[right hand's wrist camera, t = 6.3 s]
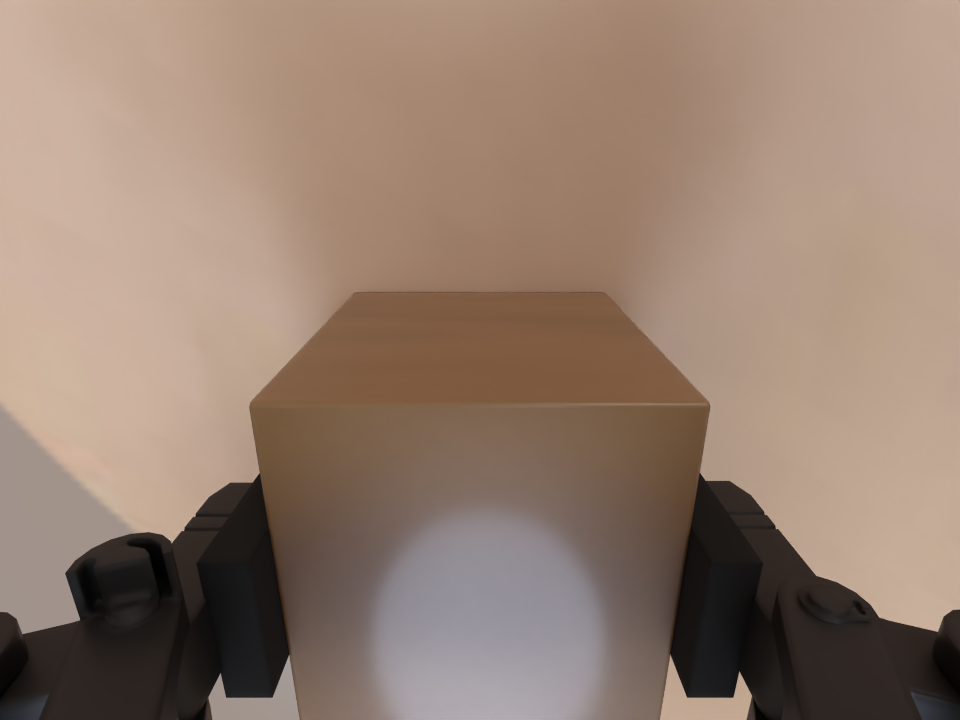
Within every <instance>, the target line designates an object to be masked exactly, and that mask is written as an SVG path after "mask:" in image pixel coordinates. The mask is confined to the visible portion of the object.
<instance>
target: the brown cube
mask: <svg viewBox="0 0 960 720" xmlns="http://www.w3.org/2000/svg"><path fill="white" fill-rule="evenodd" d="M249 408H250V414H251V420H252V427H253V433H254V439H255V445H256V451H257V458H258V464H259V470H260V476H261V482H262V488H263V495H264V501H265V507H266V513H267V519H268V526H269V532H270V538H271V544H272V550H273V557H274V563H275V569H276V575H277V581H278V588H279V594H280V600H281V606H282V612H283V618H284V625H285V631H286V637H287V643H288V649H289V656H290V662H291V668H292V674H293V680H294V687H295V693H296V699H297V705H298V711H299V717H300V720H660V715H661V709H662V703H663V696H664V690H665V684H666V678H667V672H668V665H669V659H670V653H671V647H672V641H673V634H674V628H675V622H676V616H677V610H678V603H679V597H680V591H681V585H682V579H683V572H684V566H685V560H686V554H687V548H688V541H689V535H690V529H691V523H692V517H693V510H694V504H695V498H696V492H697V485H698V479H699V473H700V467H701V461H702V454H703V448H704V442H705V436H706V430H707V423H708V417H709V411H710V404H709V402H708V401H707V399H706V398H705V397H704V396H703V395H702V394H701V393H700V392H699V391H698V390H697V389H696V388H695V387H694V386H693V385H692V384H691V383H690V382H689V381H688V379H687V378H686V377H685V376H684V375H683V374H682V373H681V372H680V371H679V370H678V369H677V368H676V367H675V366H674V365H673V364H672V363H671V362H670V361H669V359H668V358H667V357H666V356H665V355H664V354H663V353H662V352H661V351H660V350H659V349H658V348H657V347H656V346H655V345H654V344H653V343H652V342H651V341H650V339H649V338H648V337H647V336H646V335H645V334H644V333H643V332H642V331H641V330H640V329H639V328H638V327H637V326H636V325H635V324H634V323H633V322H632V321H631V319H630V318H629V317H628V316H627V315H626V314H625V313H624V312H623V311H622V310H621V309H620V308H619V307H618V306H617V305H616V304H615V303H614V302H613V301H612V299H611V298H610V297H609V296H608V295H607V294H606V293H604V292H356V293H354V294H353V295H352V296H351V297H350V298H349V299H348V300H347V301H346V302H345V303H344V304H343V305H342V307H341V308H340V309H339V310H338V311H337V312H336V313H335V314H334V315H333V316H332V317H331V318H330V319H329V320H328V321H327V322H326V323H325V324H324V325H323V326H322V328H321V329H320V330H319V331H318V332H317V333H316V334H315V335H314V336H313V337H312V338H311V339H310V340H309V341H308V342H307V343H306V344H305V345H304V346H303V347H302V349H301V350H300V351H299V352H298V353H297V354H296V355H295V356H294V357H293V358H292V359H291V360H290V361H289V362H288V363H287V364H286V365H285V366H284V367H283V368H282V370H281V371H280V372H279V373H278V374H277V375H276V376H275V377H274V378H273V379H272V380H271V381H270V382H269V383H268V384H267V385H266V386H265V387H264V388H263V389H262V391H261V392H260V393H259V394H258V395H257V396H256V397H255V398H254V399H253V400H252V401H251V402H250V406H249Z"/></svg>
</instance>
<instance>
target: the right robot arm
mask: <svg viewBox="0 0 960 720" xmlns="http://www.w3.org/2000/svg"><path fill="white" fill-rule="evenodd" d="M65 574H66V577H67V580H68V583H69V586H70V589H71V592H72V595H73V599H74V602H75V605H76V608H77V611H78V614H79V617H80V621H76V622H73V623H69V624H65V625H61V626H56V627H52V628H48V629H44V630H39V631H35V632H31V633H26V634H22V632H21V629H20V627H19V624H18V622H17V619H16V618H14V617H13V616H12V615H10V614H9V613H6V612H0V720H212V715H211V708H210V703H209V699H208V697H209V695H210V693H211V691H212V689H213V687H214V685H215V683H216V681H217V679H218V677H219V675H220V673H221V676H222V681H223V685H224V690H225V694H226V697H227V698H272V697H273V695H274V692H275V690H276V687H277V684H278V682H279V679H280V677H281V674H282V672H283V669H284V666H285V664H286V661H287V659H288V656H289V649H288V643H287V637H286V631H285V625H284V618H283V612H282V606H281V600H280V594H279V588H278V581H277V575H276V569H275V563H274V557H273V550H272V544H271V538H270V532H269V526H268V519H267V513H266V507H265V501H264V495H263V488H262V482H261V476H260V473H259V475H258V476H257V478H256V479H255V480H254V482H253V483H229V484H228V485H226V486H225V487H223V488H222V489H220V490H219V491H218V492H216V493H215V494H213V495H212V496H210V497H209V498H208V499H207V500H206V502H205V503H204V504H203V505H202V507H201V508H200V509H199V510H198V512H197V513H196V517H193V518H192V519H191V520H190V522H189V523H188V524H187V525H186V527H185V530H184V531H182V532H181V533H180V534H179V535H178V536H177V538H176V539H175V540H174V541H173V543H172V544H171V541H170V540H168V539H167V538H166V537H165V536H163V535H160V534H155V533H149V532H147V533H136V534H129V535H125V536H122V537H118V538H115V539H111V540H109V541H107V542H105V543H103V544H101V545H99V546H96V547H94V548H92V549H91V550H89V551H88V552H86V553H85V554H84V555H82V556H81V557H80V558H78V559H77V560H75V562H74V563H73V564H72V565H71V567H70V568H69V569H68V570H67V572H66V573H65ZM670 654H671V657H672V659H673V662H674V665H675V667H676V670H677V672H678V675H679V678H680V680H681V683H682V685H683V688H684V691H685V693H686V696H687V698H733V697H734V692H735V688H736V683H737V679H738V674H739V671H740V673H741V675H742V677H743V679H744V681H745V683H746V685H747V687H748V689H749V691H750V692H751V694H752V699H751V703H750V707H749V712H748V716H747V720H960V610H952V611H951V612H950V613H948V614H947V615H945V616H944V618H943V620H942V623H941V625H940V628H939V631H938V632H935V631H931V630H927V629H922V628H918V627H914V626H909V625H905V624H901V623H896V622H892V621H888V620H885V619H882V618H879V617H878V615H877V614H876V612H875V611H874V609H873V608H872V606H871V605H870V604H869V603H868V602H866V601H865V600H864V599H863V598H862V597H860V596H859V595H858V594H857V593H856V592H854V591H852V590H850V589H848V588H846V587H844V586H843V585H841V584H839V583H837V582H834V581H831V580H828V579H824V578H821V577H818V576H816V575H815V574H814V573H813V572H812V570H811V569H810V568H809V567H808V565H807V564H806V563H805V562H804V560H803V559H802V558H801V557H800V555H799V554H798V553H797V552H796V551H795V549H794V548H793V547H792V546H791V544H790V543H789V542H788V541H787V539H786V538H785V537H784V536H783V534H782V533H781V532H780V531H779V530H778V529H776V528H775V525H774V523H773V522H772V521H771V520H770V518H769V517H768V516H767V515H764V511H763V510H762V509H761V507H760V506H759V505H758V504H757V502H756V501H755V500H754V499H753V497H752V496H751V495H750V494H748V493H747V492H745V491H744V490H742V489H741V488H739V487H738V486H736V485H735V484H733V483H732V482H730V481H705V479H704V478H703V477H702V475H701V474H700V473H699V479H698V485H697V492H696V498H695V504H694V510H693V517H692V523H691V529H690V535H689V541H688V548H687V554H686V560H685V566H684V572H683V579H682V585H681V591H680V597H679V603H678V610H677V616H676V622H675V628H674V634H673V641H672V647H671V653H670Z"/></svg>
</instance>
